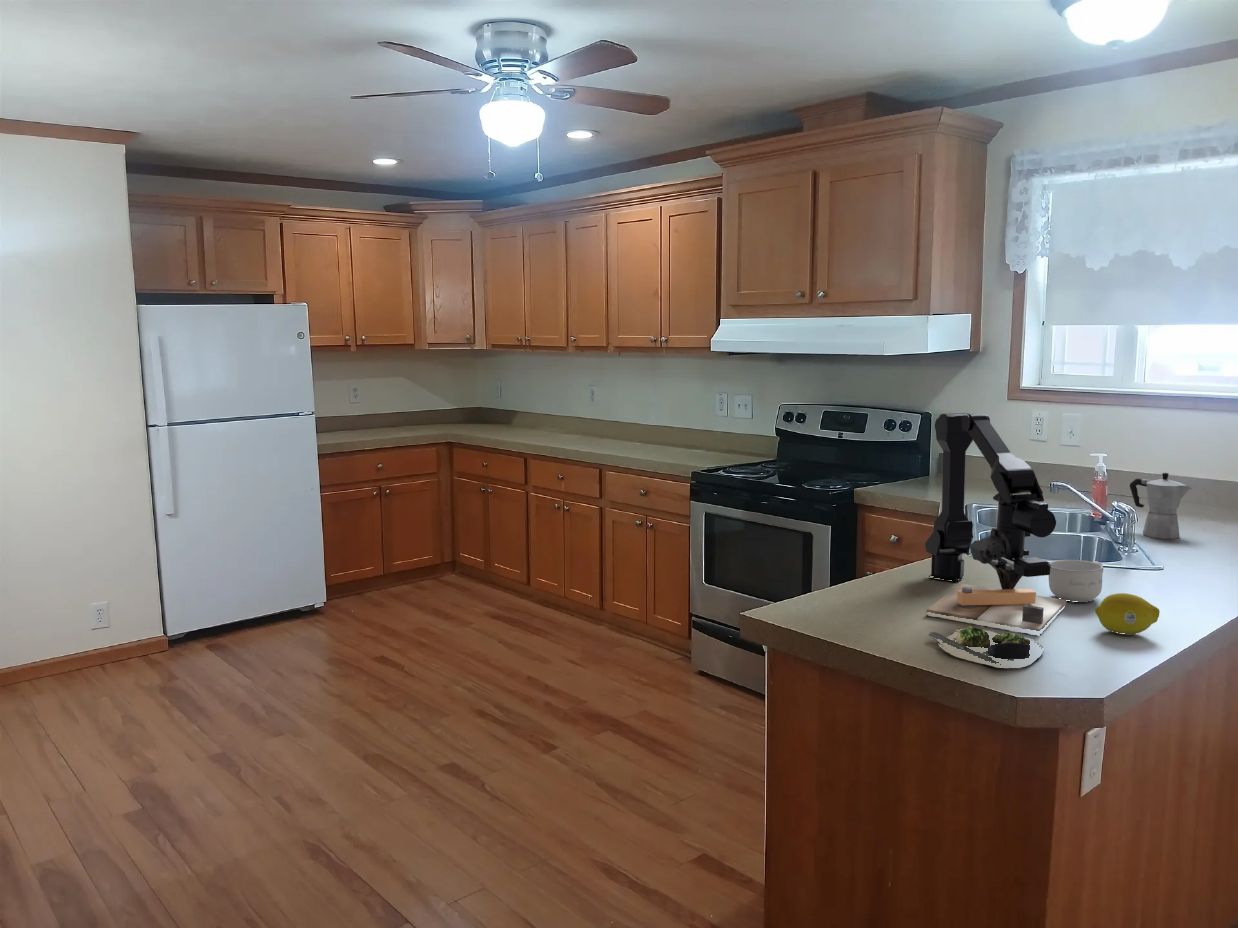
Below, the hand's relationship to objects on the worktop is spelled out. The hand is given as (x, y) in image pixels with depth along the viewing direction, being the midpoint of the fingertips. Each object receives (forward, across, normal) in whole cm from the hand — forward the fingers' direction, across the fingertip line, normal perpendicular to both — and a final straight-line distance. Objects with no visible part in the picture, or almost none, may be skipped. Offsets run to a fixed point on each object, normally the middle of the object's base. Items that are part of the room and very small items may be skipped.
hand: (1006, 596), depth 191 cm
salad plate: (+2, +22, -20) cm, 30 cm away
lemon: (+2, +21, +11) cm, 24 cm away
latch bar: (+1, +2, -4) cm, 4 cm away
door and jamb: (+2, +2, -3) cm, 4 cm away
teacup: (+3, -1, +20) cm, 20 cm away
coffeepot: (+4, -45, +83) cm, 94 cm away
